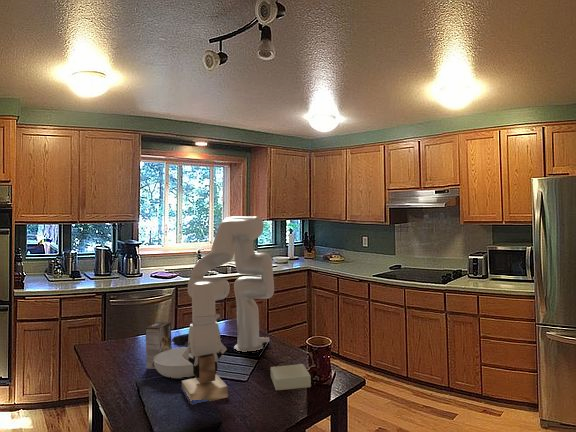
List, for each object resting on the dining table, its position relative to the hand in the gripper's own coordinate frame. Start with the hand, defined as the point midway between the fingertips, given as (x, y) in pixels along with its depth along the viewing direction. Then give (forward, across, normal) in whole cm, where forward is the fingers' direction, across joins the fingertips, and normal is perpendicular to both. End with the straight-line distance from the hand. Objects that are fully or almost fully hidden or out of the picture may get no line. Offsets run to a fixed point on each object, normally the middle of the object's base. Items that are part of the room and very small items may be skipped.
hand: (205, 374), depth 137 cm
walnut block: (+2, 0, 0) cm, 2 cm away
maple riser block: (+7, 0, 0) cm, 7 cm away
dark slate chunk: (+7, -14, -63) cm, 65 cm away
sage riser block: (+7, -29, +5) cm, 30 cm away
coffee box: (+7, +8, -36) cm, 37 cm away
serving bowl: (+7, +2, -22) cm, 23 cm away
